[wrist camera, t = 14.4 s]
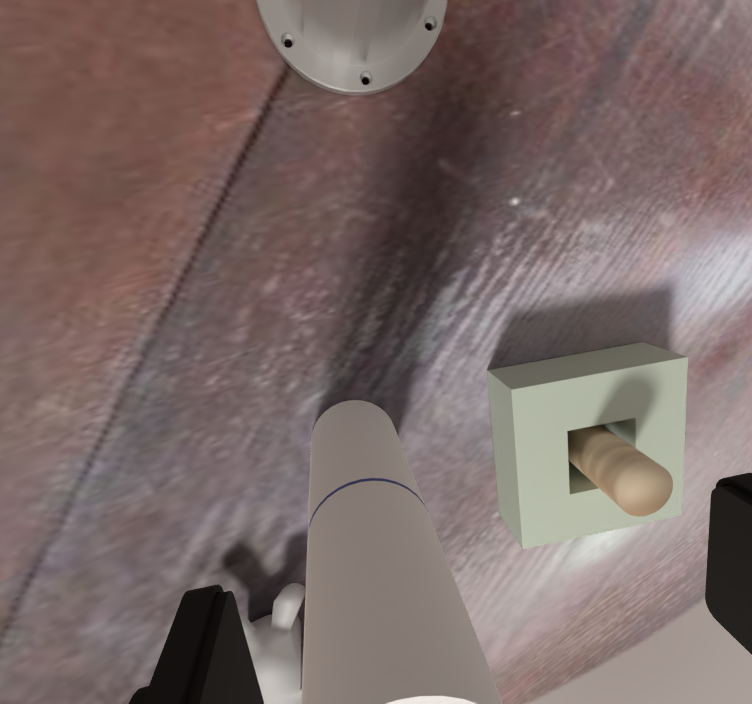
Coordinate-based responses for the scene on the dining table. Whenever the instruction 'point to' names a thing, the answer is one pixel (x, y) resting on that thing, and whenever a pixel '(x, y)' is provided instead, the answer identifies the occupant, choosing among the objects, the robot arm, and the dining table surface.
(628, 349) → the socket block
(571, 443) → the maple peg
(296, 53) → the robot arm
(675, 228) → the dining table surface
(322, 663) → the cylindrical container
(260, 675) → the bunny figurine
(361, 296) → the dining table surface
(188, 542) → the dining table surface
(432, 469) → the dining table surface
